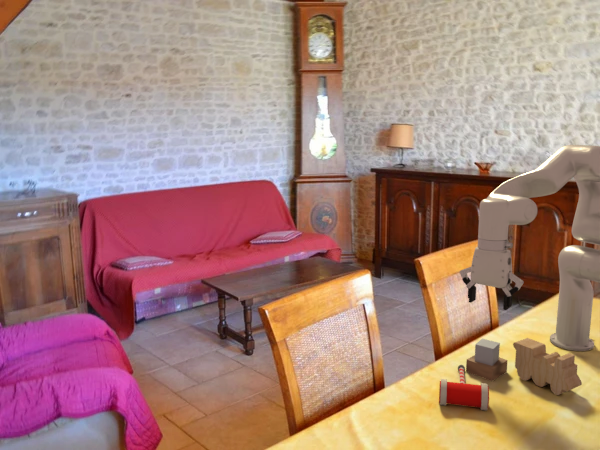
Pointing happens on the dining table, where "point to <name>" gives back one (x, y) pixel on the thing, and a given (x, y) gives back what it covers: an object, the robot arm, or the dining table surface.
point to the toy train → (545, 366)
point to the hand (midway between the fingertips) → (489, 304)
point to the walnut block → (486, 368)
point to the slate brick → (487, 352)
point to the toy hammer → (464, 393)
